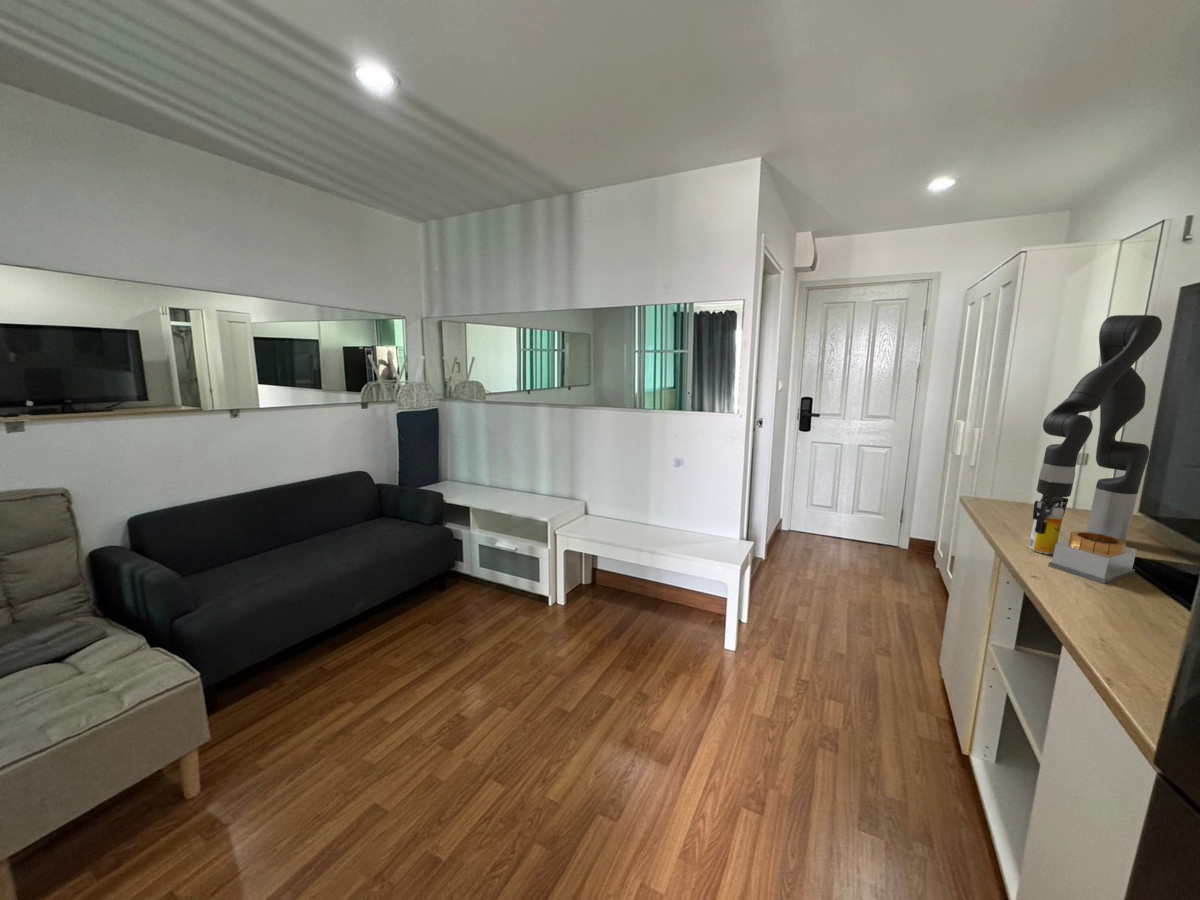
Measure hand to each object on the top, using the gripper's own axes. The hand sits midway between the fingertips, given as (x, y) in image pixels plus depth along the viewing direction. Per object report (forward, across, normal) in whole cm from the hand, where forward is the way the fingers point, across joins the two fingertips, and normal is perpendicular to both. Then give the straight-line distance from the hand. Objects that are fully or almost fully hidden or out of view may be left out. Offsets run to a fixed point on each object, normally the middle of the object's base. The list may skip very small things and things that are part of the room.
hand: (1045, 531), depth 143 cm
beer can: (+7, 0, 0) cm, 7 cm away
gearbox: (+7, +1, +13) cm, 14 cm away
